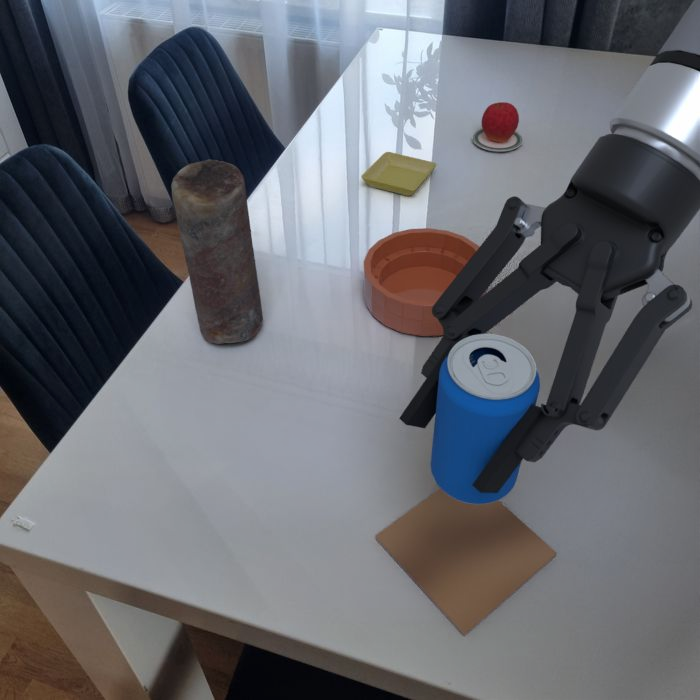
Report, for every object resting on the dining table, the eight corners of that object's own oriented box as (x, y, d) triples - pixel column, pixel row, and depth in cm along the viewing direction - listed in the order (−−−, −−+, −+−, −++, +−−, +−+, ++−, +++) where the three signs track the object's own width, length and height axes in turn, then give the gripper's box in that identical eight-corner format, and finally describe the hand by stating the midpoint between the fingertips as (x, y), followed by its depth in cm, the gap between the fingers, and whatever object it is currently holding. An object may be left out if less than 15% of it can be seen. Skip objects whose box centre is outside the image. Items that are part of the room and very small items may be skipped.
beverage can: (499, 433, 54) (522, 323, 46) (528, 502, 50) (560, 393, 41) (420, 446, 54) (429, 336, 45) (443, 517, 49) (457, 410, 41)
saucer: (385, 162, 106) (386, 150, 105) (437, 175, 103) (438, 162, 102) (360, 189, 101) (359, 176, 99) (413, 203, 98) (414, 190, 96)
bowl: (510, 302, 82) (516, 269, 78) (420, 357, 76) (422, 323, 72) (427, 246, 90) (429, 214, 87) (340, 292, 84) (338, 259, 81)
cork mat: (556, 556, 58) (557, 553, 58) (464, 637, 54) (464, 633, 53) (464, 473, 65) (465, 469, 64) (375, 539, 60) (375, 535, 60)
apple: (464, 147, 109) (468, 108, 104) (481, 126, 114) (486, 87, 109) (513, 158, 106) (519, 118, 101) (528, 135, 111) (535, 96, 106)
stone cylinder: (269, 308, 82) (247, 158, 68) (262, 351, 77) (236, 198, 63) (207, 308, 83) (172, 158, 69) (195, 351, 77) (155, 198, 63)
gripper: (816, 251, 40) (577, 552, 44) (554, 132, 51) (385, 382, 55) (811, 206, 34) (536, 559, 38) (515, 82, 45) (329, 367, 49)
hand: (447, 454), depth 47 cm, fingers closed on beverage can, 6 cm apart
